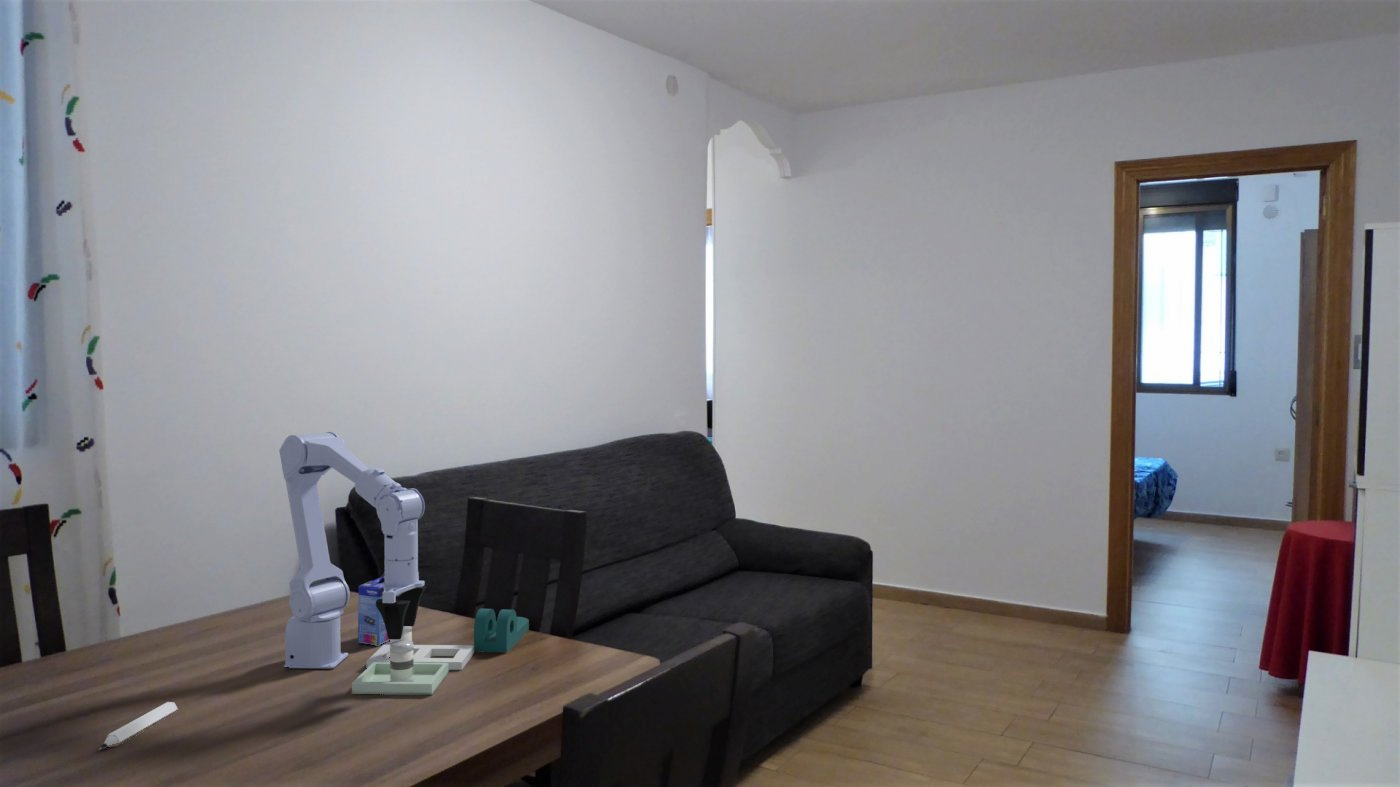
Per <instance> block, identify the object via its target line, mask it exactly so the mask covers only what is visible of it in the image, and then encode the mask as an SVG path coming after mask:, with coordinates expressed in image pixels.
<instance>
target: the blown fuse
mask: <svg viewBox="0 0 1400 787" xmlns="http://www.w3.org/2000/svg"><path fill="white" fill-rule="evenodd" d="M389 645H390V682H413V681H414V673H413V666H414V658H413V645H414V641H413V640H412V641H410V640H398V641H394V642H392V643H389Z"/></svg>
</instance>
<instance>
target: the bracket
mask: <svg viewBox="0 0 1400 787" xmlns="http://www.w3.org/2000/svg"><path fill="white" fill-rule="evenodd" d="M529 621H530V620H529V618H526V617H523V616H517V612H516V610H514V609H500V610H499V612H498V615H497V617H496V612H495V609H494V608H479V609H478V610H477V612H476V616H475V618H474V624H473V625H474V626H473V645H474V651H484V652H483V653H493V652H507V653H509V651H511V649H512V648H514V646H515V645H517V643H518V642H519V641H520V640H521V639H522V638H523V637H524V636H525V635H524V633H525V632H526V631H528V632H529V630H530V628H529V627H530V624H529V623H530V622H529ZM523 635H524V636H523ZM522 636H523V637H522ZM521 637H522V638H521ZM518 640H519V641H518Z"/></svg>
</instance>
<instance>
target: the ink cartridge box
mask: <svg viewBox="0 0 1400 787" xmlns="http://www.w3.org/2000/svg"><path fill="white" fill-rule="evenodd" d="M384 582H385V571H384V572H383V573H382V575H381V576H380V577H378V578H376V579H374V580H370V581H367V582H365V583H363V584H360V585H358V601H357V602H358V603H357V604H358V607H357V609H358V612H357V613H358V614H357V615H358V616H357V620H358V621H357V629H358V630H357V643H358V644H362V643H364V644H363V645H367V644H371V645H370V646H372V645H377V646H376V647H379V646H378V645H380V646H382V645H384V644H386V643H388V642H387V641H389V640H390V639H388V636H387V632H386V628H385V624H384V621H383V618H382V615H381V613H380V612H379V610H378V608H377V607H376V601H377V600H378V599H383V592H384ZM385 642H386V643H385ZM389 642H390V641H389ZM383 643H384V644H383ZM381 644H382V645H381Z"/></svg>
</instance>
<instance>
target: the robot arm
mask: <svg viewBox="0 0 1400 787" xmlns="http://www.w3.org/2000/svg"><path fill="white" fill-rule="evenodd" d="M279 455H280V456H279V457H280V462H281V468H282V474H283V479H284V481H285V485H286V486H285V487H286V490H287V496H288V503H289V509H290V513H291V520H292V524H293V525H292V527H293V531H294V538H295V543H296V549H297V555H298V561H299V565H300V570H299V571H298V572H297V573H296V574H295V575H294V577H292V578H291V580H290V582H289V588H290V593H289V594H290V595H289V600H288V601H289V608H290V611H291V613H292V614H293V616H291V617H290V618H289V620H288V621H287V624H286V627H285V632H284V633H285V634H284V642H285V643H284V648H285V650H284V651H285V656H284V658H285V664H284V665H283V668H284V667H289V668H288V669H335V667H337V666H338V665H339V664H340V663H341V662H342V661H343V660H345V659H346V658H347V657H348V656H349V653H348V652H342V650H341V645H342V644H341V615H344V609H345V608H346V607H347V606H348V605H349V602H350V597H351V594H350V587H349V585H348V584H347V582H346V580H345V577H344V572H343V570H342V569H341V568H339V567H338V566H336V565H334V564H333V563H332V562H331V560H330V559H331V558H330V553H329V548H328V540H327V534H326V530H325V524H324V519H323V513H322V508H321V502H320V497H319V491H318V490H319V489H318V485H317V484H318V482H319V481H320V479H321V478H322V476H324V475H326V473H328V471H330V470H331V469H333V470H335V471H336V472H338V473H340V474H341V475H342V476H343V477H345V478H346V479H347V480H349V481H351V482H352V483H354V490H355V492H356V493H357V494H358V495H359V496H360V497H361V498H363V499H364V501H366V502H368V504H370V505H371V506H372V507H374V508H375V509H376V515H377V518H378V519H379V521H380V524H381V532H382V534H383V535H384V572H385V582H384V592H383V599H378V600H377V601H376V607H377V608H378V610H379V612H380V613H381V615H382V618H383V621H384V624H385V628H386V632H387V636H388V639H401V637H402V633H403V626H412V627H414V626H415V624H416V619H417V615H418V609H419V606H420V601H421V599H422V596H423V594H424V592H425V590H426V585H425V582H426V581H425V580H419V579H420V576H419V573H420V572H419V544H418V543H419V538H418V536H419V534H418V533H419V528H418V527H419V526H418V525H419V521H418V520H420V519H421V518H422V517H423V516H424V513H425V509H426V505H425V504H426V503H425V500H424V497H423V494H421V493H420V491H419V490H418V489H416V488H412V487H411V488H406V487H403V486H402V485H401V484H400V483H399V482H396V481H395V480H393V479H392V478H391V477H390V476H388V475H387V474H386V473H385V472H386V470H385V469H383V468H380V467H379V468H376V467H372V468H368V466H366V465H365V464H364V463H363V462H361V460H360V459H359V458H357V456H355V454H353V453H352V451H350V450H349V449H348V448H347V447H346V442H345V439H344V438H342V437H341V436H339V434H337V433H336V432H334V431H326V432H323V433H322V432H320V433H310V434H308V433H307V434H301V435H300V434H298V435H297V434H290V435H288V436H287V437H286V438H285V440H284V441H283V442H282V444H281V446H280V448H279ZM320 580H323V581H320ZM316 581H319V582H316ZM313 582H315V583H313Z"/></svg>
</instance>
